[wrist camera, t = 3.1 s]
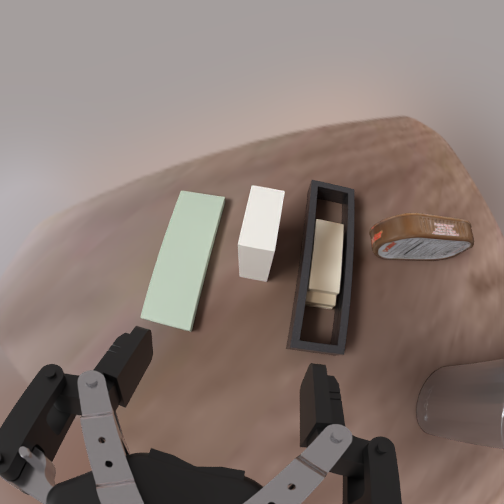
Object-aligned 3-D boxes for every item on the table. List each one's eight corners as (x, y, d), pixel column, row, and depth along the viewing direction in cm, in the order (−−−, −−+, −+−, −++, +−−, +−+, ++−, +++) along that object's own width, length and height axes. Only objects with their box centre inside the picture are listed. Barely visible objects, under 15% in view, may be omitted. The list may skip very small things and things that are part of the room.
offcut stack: (336, 233, 33) (343, 221, 30) (329, 310, 29) (338, 304, 27) (311, 228, 33) (316, 215, 30) (301, 305, 30) (307, 299, 27)
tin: (446, 244, 33) (481, 217, 25) (450, 265, 31) (488, 240, 24) (358, 239, 32) (387, 203, 25) (361, 263, 31) (393, 232, 23)
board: (225, 201, 34) (224, 197, 33) (191, 331, 28) (189, 330, 27) (182, 195, 34) (181, 190, 33) (143, 318, 28) (140, 317, 27)
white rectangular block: (275, 232, 32) (284, 191, 25) (266, 281, 30) (274, 251, 22) (250, 228, 33) (251, 185, 25) (239, 276, 30) (237, 244, 22)
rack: (348, 200, 35) (354, 189, 32) (336, 355, 27) (343, 354, 25) (307, 191, 35) (311, 179, 32) (286, 348, 27) (289, 347, 25)
